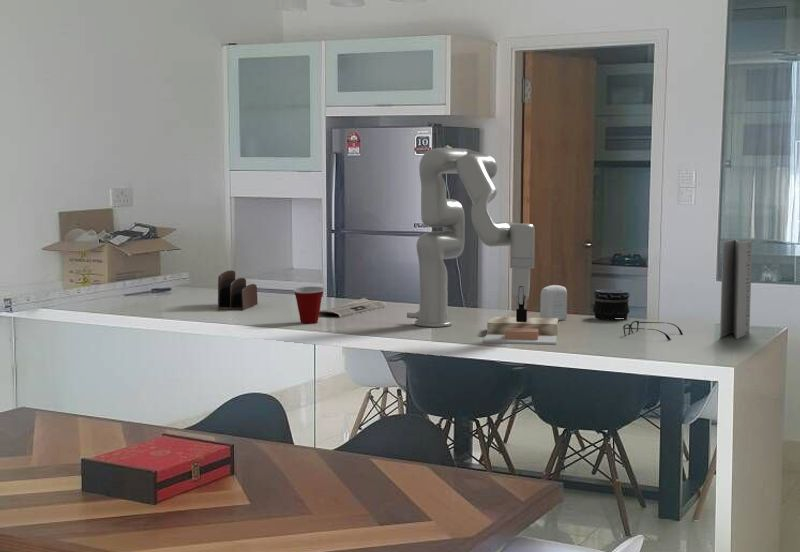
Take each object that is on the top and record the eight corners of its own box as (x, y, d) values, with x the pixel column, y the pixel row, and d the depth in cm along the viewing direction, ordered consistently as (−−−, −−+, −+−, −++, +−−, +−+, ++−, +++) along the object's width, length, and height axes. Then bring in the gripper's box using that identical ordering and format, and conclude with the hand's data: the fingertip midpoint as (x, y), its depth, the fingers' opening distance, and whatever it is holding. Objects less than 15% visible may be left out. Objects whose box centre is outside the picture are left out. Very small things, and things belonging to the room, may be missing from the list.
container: (613, 315, 388) (614, 288, 387) (637, 319, 377) (637, 291, 376) (585, 317, 382) (585, 289, 381) (607, 322, 371) (608, 293, 370)
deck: (487, 335, 341) (487, 322, 340) (490, 328, 354) (490, 316, 354) (557, 336, 337) (557, 324, 337) (557, 330, 351) (558, 318, 351)
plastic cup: (287, 324, 366) (287, 289, 365) (302, 319, 376) (301, 285, 375) (316, 325, 362) (315, 290, 361) (329, 321, 372) (329, 287, 371)
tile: (506, 328, 335) (506, 335, 336) (505, 331, 328) (505, 339, 329) (538, 328, 334) (538, 336, 334) (538, 332, 327) (538, 339, 327)
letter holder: (217, 310, 403) (217, 273, 402) (233, 304, 422) (232, 268, 421) (243, 311, 401) (242, 273, 400) (258, 304, 421) (257, 268, 420)
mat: (483, 342, 326) (483, 340, 325) (486, 335, 339) (486, 333, 339) (556, 344, 322) (556, 342, 322) (557, 337, 336) (557, 335, 336)
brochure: (737, 338, 333) (740, 242, 330) (719, 337, 336) (722, 241, 333) (749, 332, 345) (752, 240, 342) (732, 331, 348) (734, 239, 345)
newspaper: (339, 319, 381) (339, 309, 381) (310, 317, 387) (310, 307, 387) (388, 308, 412) (388, 299, 411) (361, 306, 418) (361, 297, 417)
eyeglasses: (636, 331, 351) (637, 319, 351) (684, 335, 343) (685, 322, 343) (620, 338, 337) (620, 325, 337) (670, 342, 329) (670, 329, 329)
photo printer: (560, 318, 379) (560, 283, 378) (568, 320, 376) (569, 284, 375) (538, 320, 374) (538, 285, 373) (546, 322, 370) (546, 286, 369)
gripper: (511, 261, 341) (510, 318, 342) (508, 265, 326) (507, 324, 328) (535, 261, 340) (534, 318, 341) (533, 265, 325) (532, 325, 327)
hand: (521, 321), depth 335 cm, fingers closed
